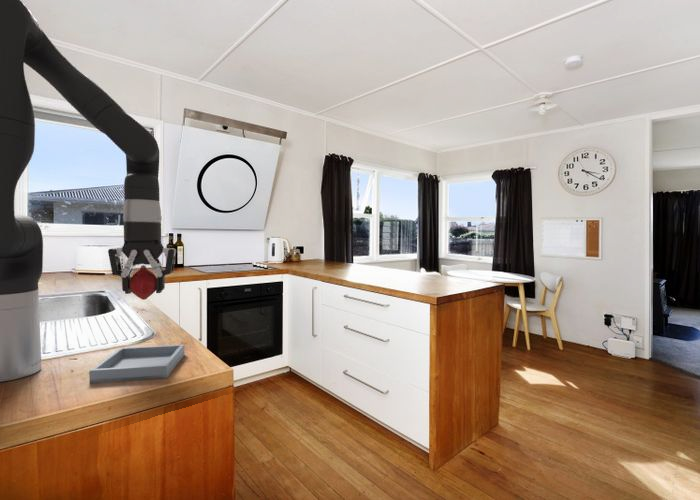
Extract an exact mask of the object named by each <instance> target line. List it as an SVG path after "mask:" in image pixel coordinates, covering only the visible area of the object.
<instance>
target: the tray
mask: <svg viewBox="0 0 700 500" xmlns="http://www.w3.org/2000/svg"><path fill="white" fill-rule="evenodd" d="M184 357H185V344H171V345H170V344H168V345H167V344H166V345H154V346H153V345H149V346H132V347H130V346H129V347H119V348H118V349H117V350H115V351H114V352H113V353H111V354H110V355H109V356H107V357H106V358H105V359H103V360H102V361H100V362H99V363H98V364H96V365H95V366H94V367H92V368H91V369H90V370H89V372H88V374H89V376H88V379H89V380H88V381H89V384H98V383H114V382H128V381H141V380H143V381H144V380H157V379H159V380H160V379H168V377H169V376H170V375H171V373H172V372H173V370H174V369H175V368H176V367H177V365H178V364H179V363H180V362H181V360H182V359H183V358H184Z"/></svg>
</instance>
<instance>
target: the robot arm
mask: <svg viewBox="0 0 700 500" xmlns="http://www.w3.org/2000/svg"><path fill="white" fill-rule="evenodd" d="M24 64H25V65H27V66H28V67H29V68H31V69H32V70H33V71H35V72H36V73H37V74H38V75H40V76H41V77H42V78H43V79H44V80H46V81H47V83H49V84H50V86H52V87H53V88H54V89H55V90H56V91H57V92H58V93H59V94H60V95H61V96H62V97H63V99H65V101H67V102H68V104H70V105H71V107H73V108H74V109H75V110H76V111H77V112H78V113H79V114H80V115H81V116H82V117H83V118H84V119H85V120H87V122H89V124H91V125H92V126H93V127H94V128H95V129H97V130H98V131H99V132H101V133H103V134H104V135H106V136H107V137H108V139H110V140H111V141H112V142H113V143H114V145H116V146H117V148H119V149H120V150H121V151H122V152H123V153H124V154H125V162H126V166H125V167H126V176H125V178H124V182H123V184H124V185H123V190H124V191H123V194H124V200H123V201H124V202H123V208H122V209H123V245H122V247H119V248H114V247H113V248H109V249H108V250H107V253H108V258H109V264H110V268H111V269H110V270H111V274H112V275H114V276H119V277H121V290H122V292H124V294H126V295H129V294H133V293H132V291H131V290H130V287H129V283H130V279H131V277H132V275H131V274H132V273H133V271H134V269H135V268H136V267H137V265H145V266H147V265H150V266H151V269H152V270H153V271H154V274H155V276H156V291H155V293H156V294H160V293H161V294H162V292H163V291H164V290H165V285H166V283H165V277H166V276H167V275H170V274H173V273H174V269H175V263H176V262H175V261H176V257H177V256H176V254H177V249H176V248H169V247H167V248H166V247H164V245H163V243H162V211H161V210H162V209H161V203H160V183H159V182H160V181H159V173H160V172H159V171H160V149H159V144H158V142H157V139H156V138H155V137H154V136H153V135H152V133H150V131H149V130H147V129H146V128H145V127H144V126H143V125H142V124H141V123H140V122H138V121H137V120H136V119H135V118H133V117H132V116H131V115H129V114H128V113H127V112H126V111H125V110H124V108H122V106H120V105H119V103H118V102H116V101H115V100H114V98H112V97H111V96H110V95H109V94H108V93H107V92H106V91H104V89H103V88H101V87H100V86H99V84H98V83H96V82H94V81H93V80H92V79H91V78H90V77H88V76H87V75H86V74H85V73H83V71H81V70H79V68H77V67H76V66H74V65H73V63H71V62H70V61H69V60H68V59H67V58H66V57H65V56H64V55H63V54H62V53H61V52H60V51H59V49H58V48H57V47H56V46H55V45H54V43H52V41H51V40H50V39H49V37H48V36H47V35H46V33H45V32H44V31H43V29H42V28H41V26H40V24H39V22H38V21H37V19H36V18H35V16H34V15H33V13H32V12H31V10H29V8H28V7H27V6H26V5H25V3H24V2H23V1H22V0H0V383H1V382H7V381H13V380H18V379H21V378H25V377H29V376H31V375H34V374H35V373H38V372H39V371H41V370H42V361H43V360H42V347H41V346H42V342H41V320H40V297H39V296H40V295H39V293H40V292H39V281H40V278H41V277H42V273H43V264H44V263H43V262H44V261H43V260H44V256H43V255H44V238H43V233H42V229H41V227H40V226H39V223H38V222H36V221H35V219H33V218H32V217H30V216H28V215H26V214H22V213H21V214H20V213H15V194H16V188H17V185H18V182H19V180H20V178H21V177H22V175H23V173H24V172H25V170H26V168H27V166H28V165H29V163H30V161H31V159H32V157H33V155H34V152H35V151H34V150H35V139H36V137H35V136H36V121H35V120H36V119H35V113H34V112H35V111H34V108H33V104H32V98H31V95H30V91H29V87H28V85H27V80H26V76H25V70H24V69H25V67H24V66H25V65H24ZM163 253H164V257H165V258H166V263H165V269H164V267H163V265H162V263H161V260H160V259H159V258H160V256H161V255H162V254H163ZM123 254H124V256H125V257H126V258H127V260H126V261H125V264H124V268H123V269H122V263H121V257H122V255H123Z"/></svg>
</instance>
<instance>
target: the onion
mask: <svg viewBox="0 0 700 500" xmlns="http://www.w3.org/2000/svg"><path fill="white" fill-rule="evenodd" d="M130 277H131V279H130V283H129V287H130V290H131V291H132V293H131V294H133V295H134V296H136V297H138V298H139V299H140V300H142V301H143V300H144V301H145V300H147V299H148V298H149V297H151V295H154V294H155V293H156V277H157V275H156V274H155V272H153V271H151V270H149V269H148V268H147V265H145V264H142V265H141V266H140V268H139V270H137V271H136V272H134V273H133V275H131V276H130Z"/></svg>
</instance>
